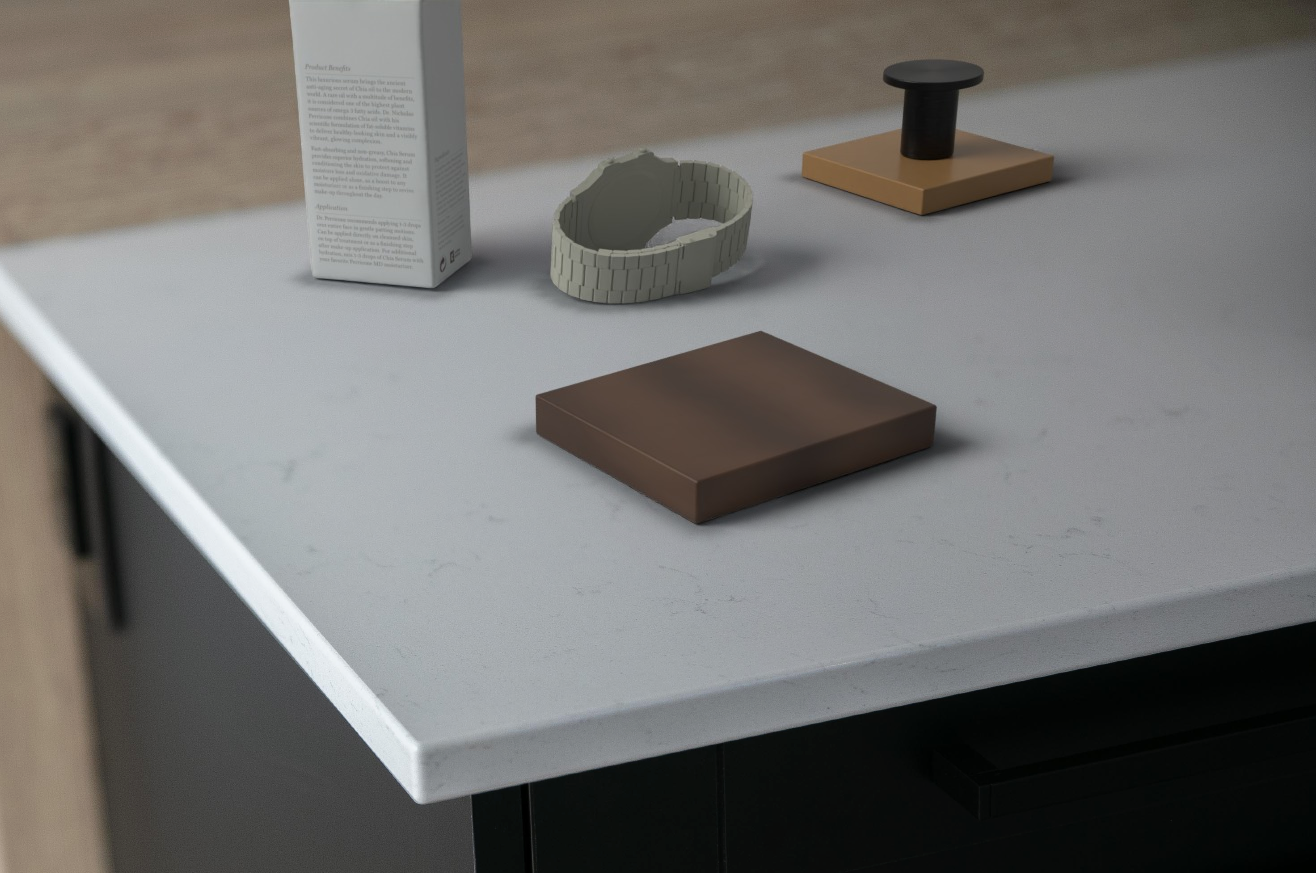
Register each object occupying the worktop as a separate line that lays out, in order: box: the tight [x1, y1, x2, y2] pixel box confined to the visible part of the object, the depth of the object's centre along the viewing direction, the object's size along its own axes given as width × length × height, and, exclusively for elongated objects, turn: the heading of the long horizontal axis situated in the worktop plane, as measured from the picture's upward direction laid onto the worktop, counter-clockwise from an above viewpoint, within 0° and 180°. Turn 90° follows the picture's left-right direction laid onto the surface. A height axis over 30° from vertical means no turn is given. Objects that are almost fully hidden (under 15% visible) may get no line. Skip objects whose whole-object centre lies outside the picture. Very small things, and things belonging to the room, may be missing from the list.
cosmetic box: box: [288, 0, 473, 289], centre depth 82 cm, size 6×4×12 cm
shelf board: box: [535, 330, 938, 524], centre depth 66 cm, size 10×9×2 cm
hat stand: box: [801, 58, 1055, 216], centre depth 90 cm, size 8×8×5 cm
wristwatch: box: [550, 146, 754, 304], centre depth 80 cm, size 9×6×5 cm
